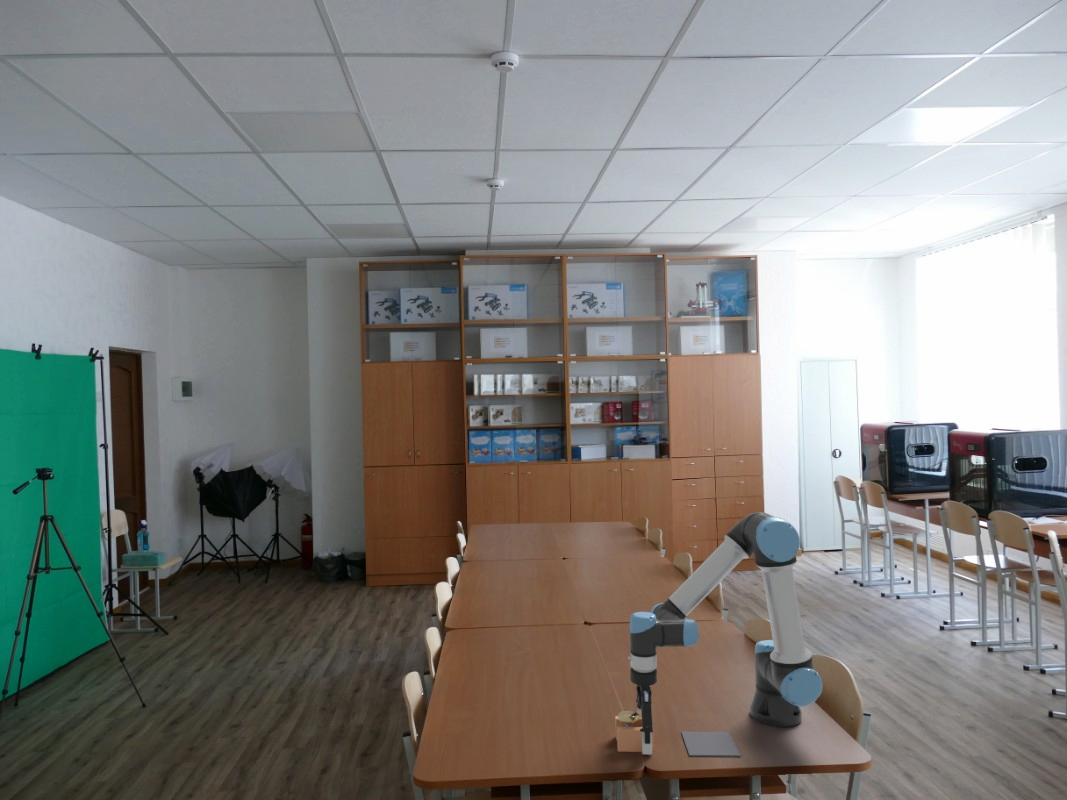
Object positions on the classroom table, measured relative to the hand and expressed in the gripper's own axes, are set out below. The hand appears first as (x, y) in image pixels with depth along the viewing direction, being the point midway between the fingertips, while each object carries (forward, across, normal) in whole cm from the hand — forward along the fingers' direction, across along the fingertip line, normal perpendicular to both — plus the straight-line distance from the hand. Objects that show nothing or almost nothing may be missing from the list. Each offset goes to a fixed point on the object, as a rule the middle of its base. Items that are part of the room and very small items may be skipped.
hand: (644, 742), depth 204 cm
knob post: (0, 0, -4) cm, 4 cm away
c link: (0, 0, -3) cm, 3 cm away
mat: (0, 0, +19) cm, 19 cm away
